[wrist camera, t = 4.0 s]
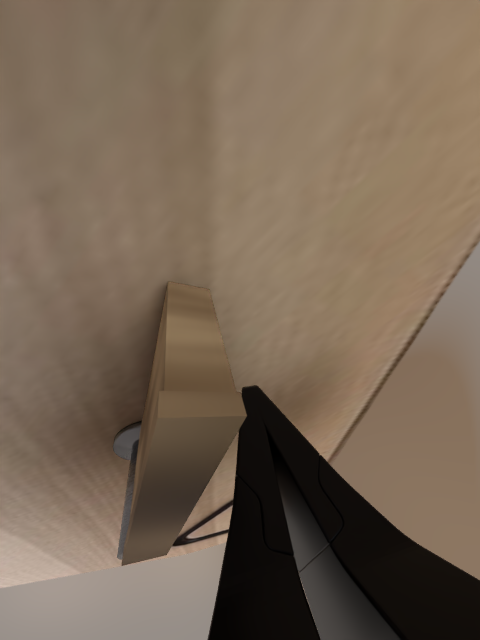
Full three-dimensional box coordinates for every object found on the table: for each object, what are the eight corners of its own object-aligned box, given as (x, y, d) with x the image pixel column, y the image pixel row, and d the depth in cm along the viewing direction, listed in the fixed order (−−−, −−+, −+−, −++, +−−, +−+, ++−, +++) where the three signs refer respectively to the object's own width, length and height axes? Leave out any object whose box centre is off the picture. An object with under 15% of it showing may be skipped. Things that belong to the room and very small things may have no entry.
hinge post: (138, 412, 13) (122, 536, 9) (197, 427, 16) (206, 530, 12) (100, 449, 15) (71, 573, 10) (160, 458, 17) (156, 561, 13)
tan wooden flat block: (168, 429, 15) (166, 554, 10) (138, 431, 14) (121, 565, 9) (211, 287, 9) (246, 415, 5) (165, 278, 9) (156, 417, 4)
